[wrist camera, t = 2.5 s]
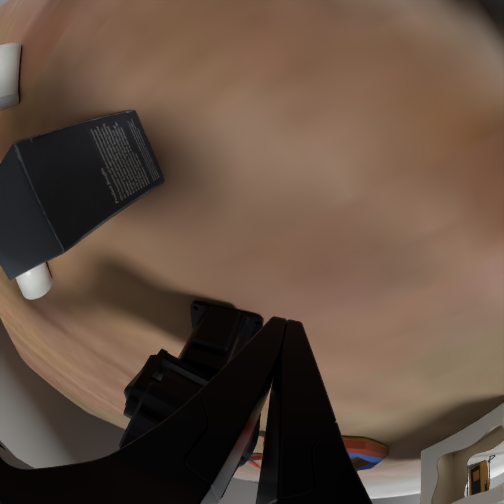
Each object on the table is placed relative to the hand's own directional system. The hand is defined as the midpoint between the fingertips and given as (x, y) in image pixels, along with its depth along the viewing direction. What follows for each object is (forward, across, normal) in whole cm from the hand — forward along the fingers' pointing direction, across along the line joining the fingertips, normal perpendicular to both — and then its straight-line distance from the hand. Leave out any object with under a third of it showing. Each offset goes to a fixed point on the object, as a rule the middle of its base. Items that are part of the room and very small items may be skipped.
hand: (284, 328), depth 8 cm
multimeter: (+12, -76, +64) cm, 100 cm away
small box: (+12, +16, 0) cm, 20 cm away
